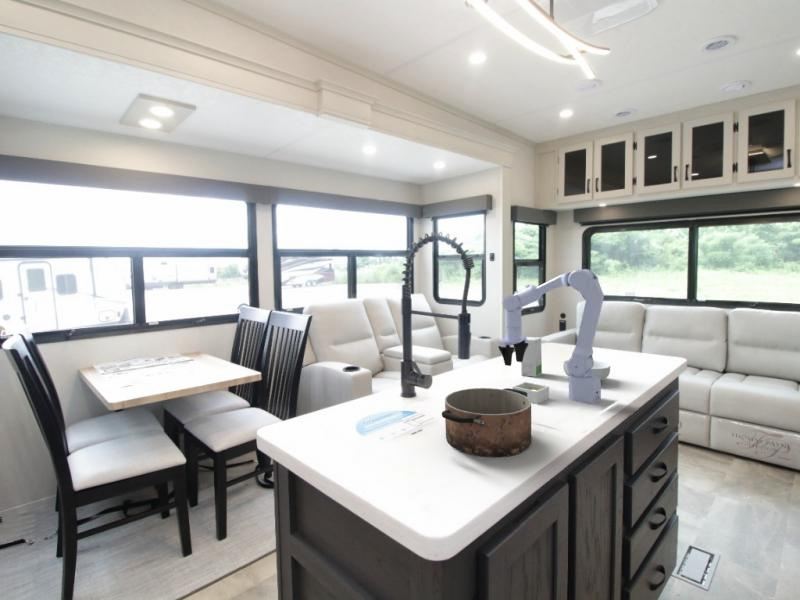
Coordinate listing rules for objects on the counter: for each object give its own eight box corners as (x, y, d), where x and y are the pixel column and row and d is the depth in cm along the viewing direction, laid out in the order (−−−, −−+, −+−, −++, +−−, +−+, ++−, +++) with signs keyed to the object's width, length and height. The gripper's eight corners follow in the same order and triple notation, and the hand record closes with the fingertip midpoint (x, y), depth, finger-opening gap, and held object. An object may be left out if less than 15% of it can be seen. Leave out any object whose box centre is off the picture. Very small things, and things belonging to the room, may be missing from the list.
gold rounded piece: (543, 398, 139) (542, 389, 139) (538, 400, 137) (538, 391, 137) (534, 396, 142) (534, 387, 141) (530, 398, 140) (530, 389, 139)
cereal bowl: (618, 386, 153) (618, 368, 152) (573, 387, 153) (573, 369, 153) (597, 375, 170) (597, 358, 169) (557, 376, 170) (557, 359, 170)
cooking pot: (487, 414, 128) (486, 381, 127) (555, 434, 111) (554, 396, 110) (418, 444, 108) (417, 404, 107) (488, 473, 91) (487, 426, 91)
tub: (549, 399, 139) (549, 386, 139) (536, 405, 134) (536, 391, 133) (525, 394, 146) (525, 381, 145) (512, 399, 140) (512, 386, 140)
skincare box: (535, 377, 168) (535, 340, 167) (520, 375, 172) (519, 338, 171) (542, 373, 175) (542, 337, 174) (527, 371, 179) (526, 336, 178)
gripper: (514, 324, 159) (515, 358, 160) (492, 328, 149) (493, 365, 150) (531, 325, 153) (531, 361, 154) (509, 330, 144) (509, 368, 145)
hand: (513, 363), depth 152 cm, fingers open, 7 cm apart
